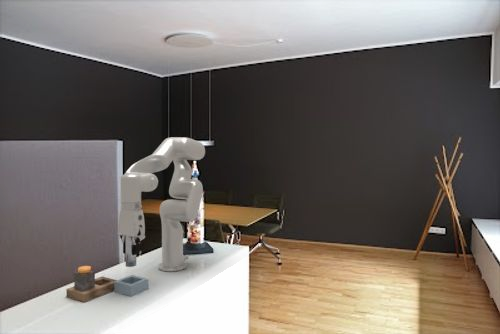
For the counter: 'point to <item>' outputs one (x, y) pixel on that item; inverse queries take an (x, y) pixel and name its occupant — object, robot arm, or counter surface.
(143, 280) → the blue-grey square frame
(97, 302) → the counter surface
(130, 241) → the grey smooth thick cylinder
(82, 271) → the release button
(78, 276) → the socket block
